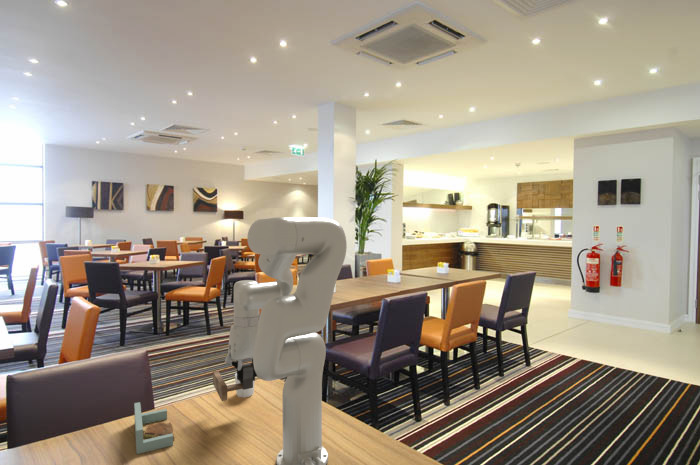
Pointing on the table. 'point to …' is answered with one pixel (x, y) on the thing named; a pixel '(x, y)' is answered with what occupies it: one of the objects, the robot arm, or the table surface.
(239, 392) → the shot glass
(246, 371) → the wall doorstop
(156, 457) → the table surface
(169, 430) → the shard
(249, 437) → the table surface
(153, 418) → the bracket
